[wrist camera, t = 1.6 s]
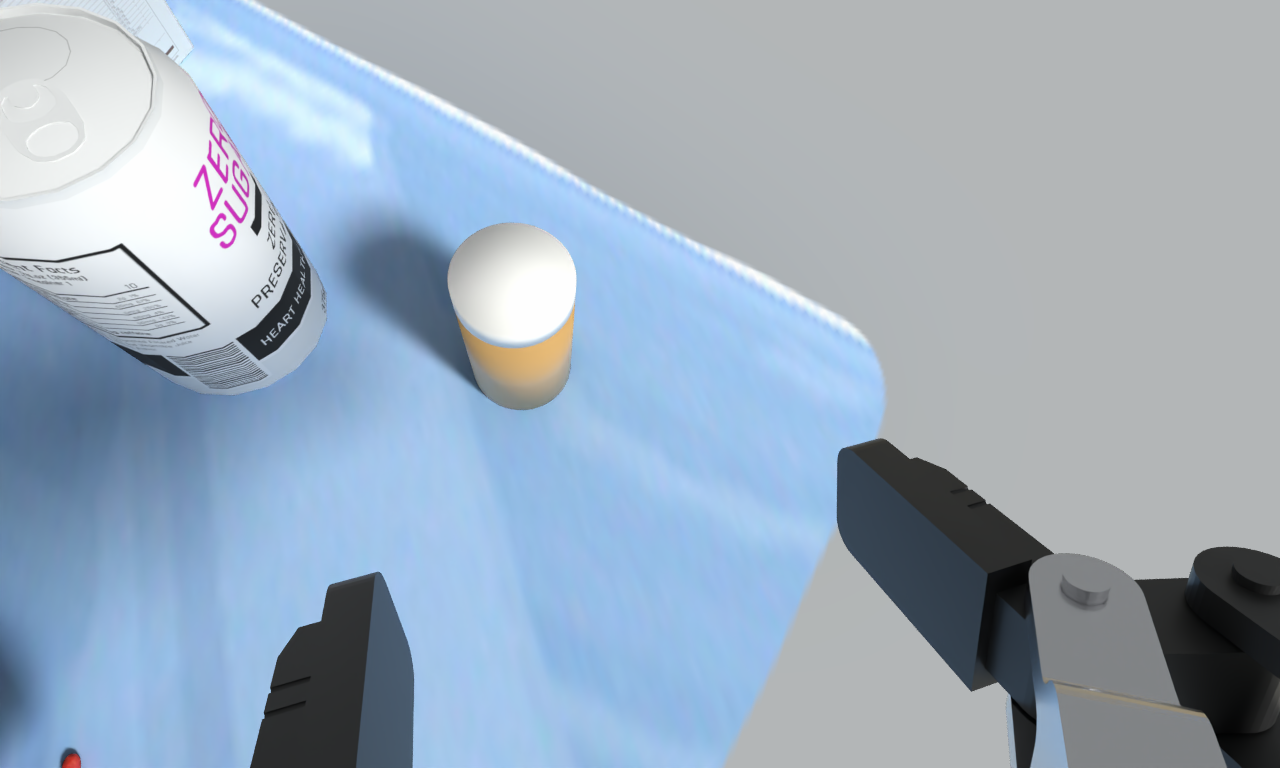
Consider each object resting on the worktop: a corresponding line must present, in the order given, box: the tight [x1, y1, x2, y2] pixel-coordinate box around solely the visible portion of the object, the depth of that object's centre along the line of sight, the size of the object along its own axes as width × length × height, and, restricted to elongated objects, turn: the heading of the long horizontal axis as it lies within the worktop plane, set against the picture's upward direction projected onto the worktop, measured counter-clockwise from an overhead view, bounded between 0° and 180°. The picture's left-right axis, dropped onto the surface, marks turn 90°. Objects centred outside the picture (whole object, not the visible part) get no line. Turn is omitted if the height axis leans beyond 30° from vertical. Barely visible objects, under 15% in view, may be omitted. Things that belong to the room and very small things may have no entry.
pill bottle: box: [447, 223, 576, 410], centre depth 30 cm, size 5×5×9 cm
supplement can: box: [0, 3, 327, 395], centre depth 27 cm, size 8×8×15 cm
